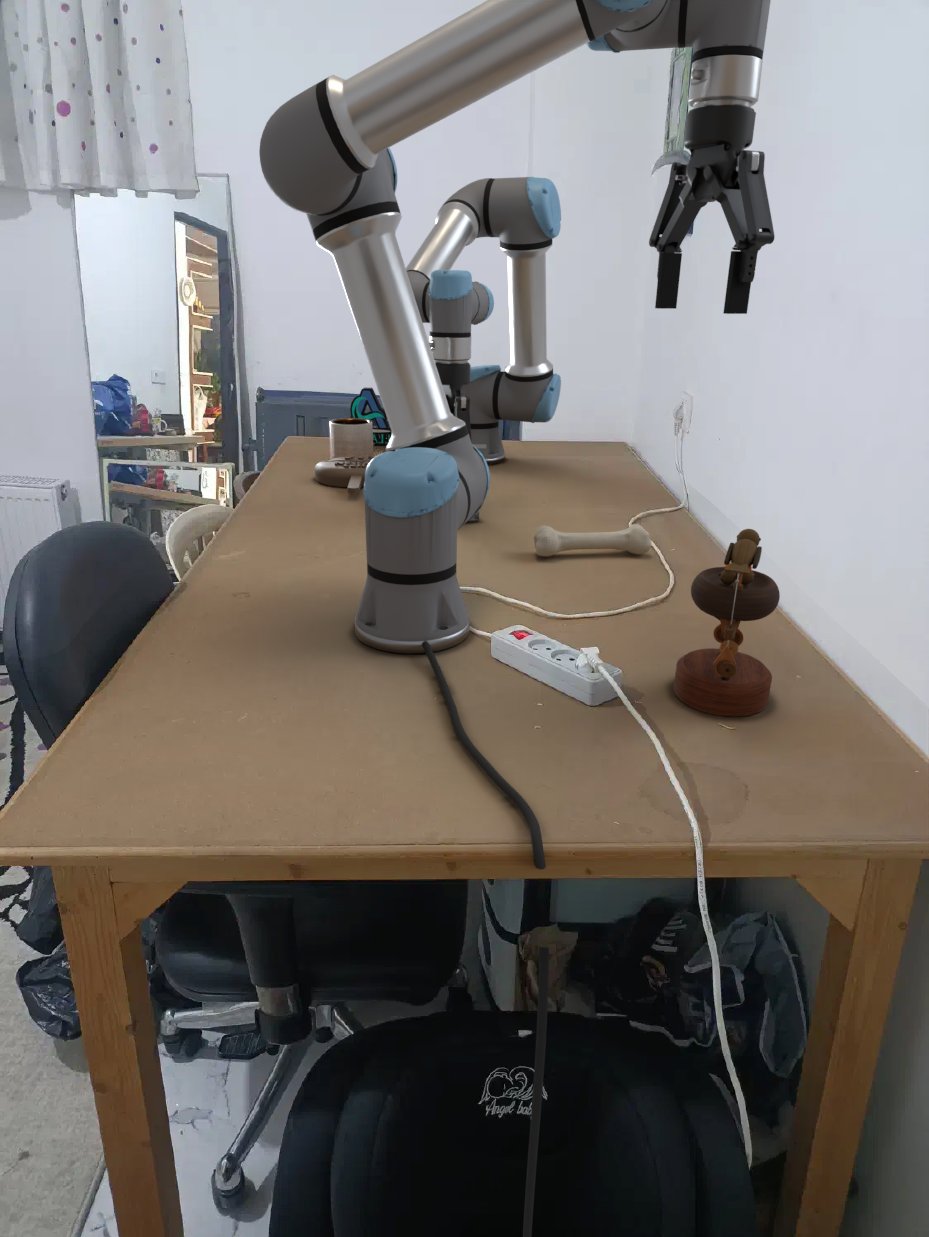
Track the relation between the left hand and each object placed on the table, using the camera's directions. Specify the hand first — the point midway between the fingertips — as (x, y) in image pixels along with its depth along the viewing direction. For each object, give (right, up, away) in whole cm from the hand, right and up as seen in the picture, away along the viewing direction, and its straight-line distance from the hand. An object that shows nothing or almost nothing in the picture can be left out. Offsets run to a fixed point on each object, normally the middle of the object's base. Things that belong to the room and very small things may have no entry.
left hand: (698, 311), depth 102 cm
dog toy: (-7, -26, +43) cm, 51 cm away
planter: (-57, +3, +112) cm, 126 cm away
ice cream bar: (-52, -7, +87) cm, 102 cm away
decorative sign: (-55, +11, +132) cm, 143 cm away
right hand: (-31, -11, +60) cm, 69 cm away
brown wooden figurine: (+1, -46, -4) cm, 46 cm away
